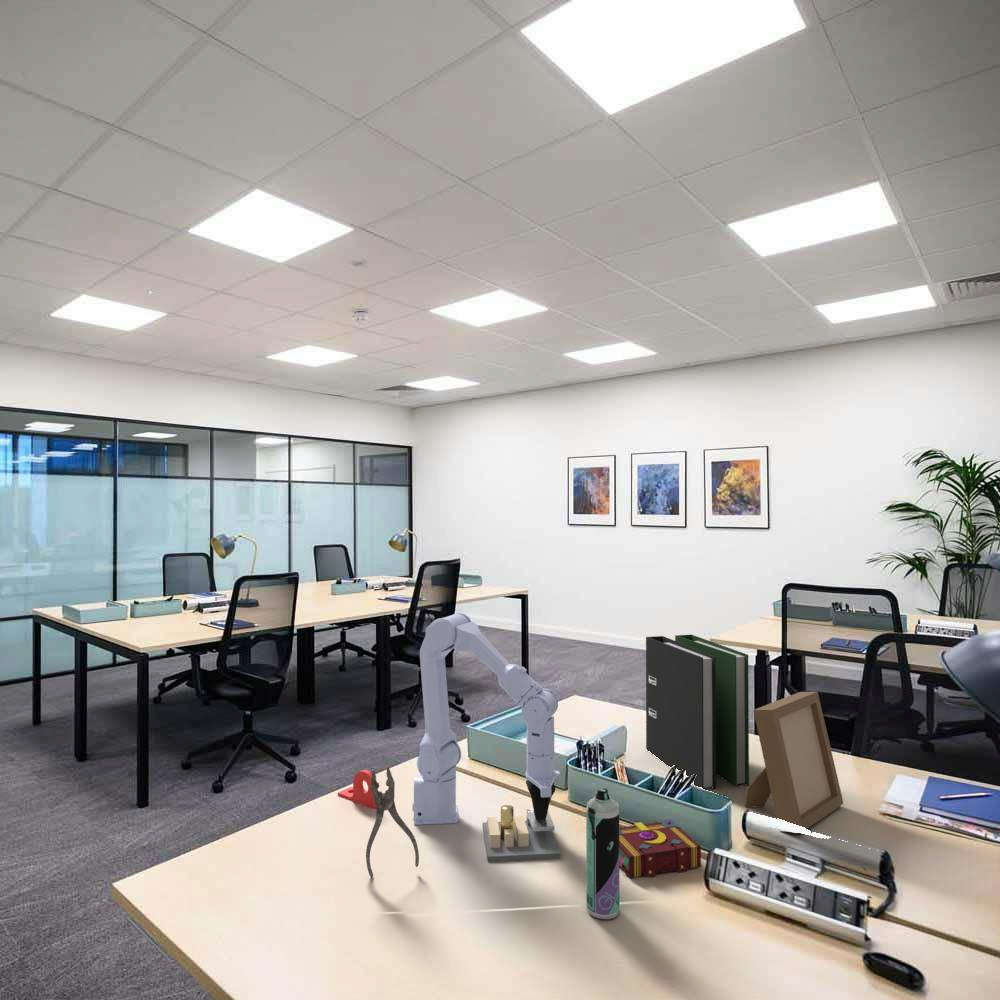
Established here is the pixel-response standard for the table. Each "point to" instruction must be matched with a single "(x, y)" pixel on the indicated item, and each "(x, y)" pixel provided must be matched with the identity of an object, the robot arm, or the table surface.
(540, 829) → the grey flat plate
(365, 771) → the bracket
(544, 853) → the board
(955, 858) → the table surface
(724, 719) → the binder
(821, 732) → the photo frame
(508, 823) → the pin
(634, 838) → the decorative book
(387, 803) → the pliers
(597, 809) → the spray can
